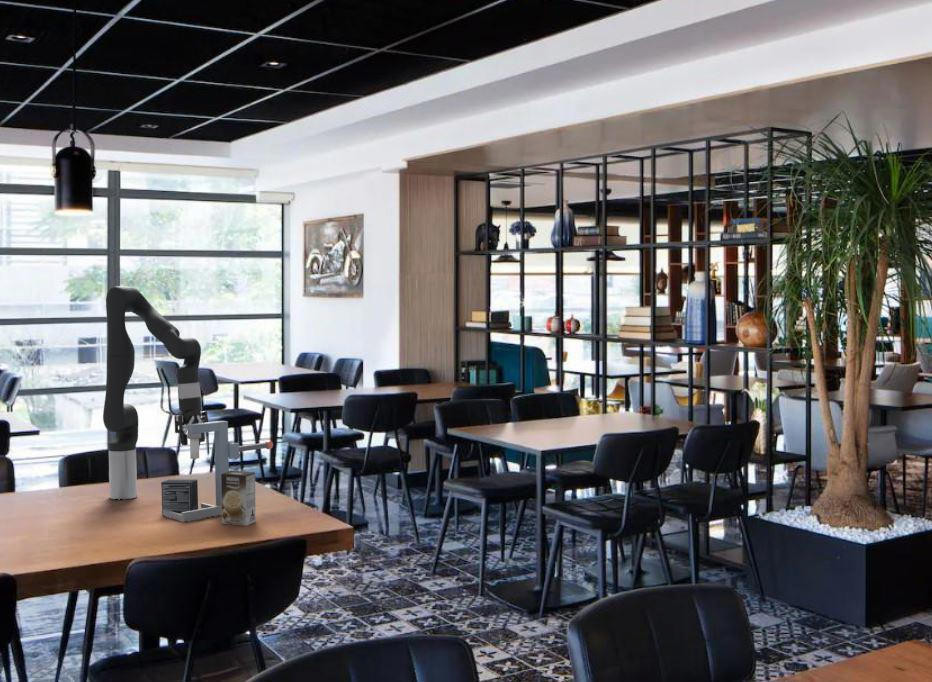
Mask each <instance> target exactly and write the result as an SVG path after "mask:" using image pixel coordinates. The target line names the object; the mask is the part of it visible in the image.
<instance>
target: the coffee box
mask: <svg viewBox="0 0 932 682" xmlns="http://www.w3.org/2000/svg"><path fill="white" fill-rule="evenodd" d="M221 488H222V515H221V524H224V525H231V524H232V525H231V526H233V525H234V526H245V527H246V526H249V525H251V524H254V523H256V521H257V520H256V519H257V518H256V516H257V513H256V472H255V471H243V470H232V469H231V470H229V471H228V472H225V473H223V474H221Z"/></svg>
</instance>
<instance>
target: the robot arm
mask: <svg viewBox="0 0 932 682" xmlns="http://www.w3.org/2000/svg"><path fill="white" fill-rule="evenodd" d="M105 298H106V299H105V307H106V308H105V309H106V321H107V349H106V350H107V352H106V354H107V355H106V386H105V397H104V405H103V410H102V411H103V413H102V421H103V424H104V427H105V428H106V430H107V431H109V432H111V433H115V435H114V437H113V438H112V439H111V440H110V441H109V442H108V482H109V484H108V485H109V489H108V491H109V499H110V498H111V500H115V499H118V501H119V500H120V499H123V500H131V499H134V498H137V497H138V477H137V476H138V475H137V474H138V473H137V471H138V470H137V442H138V440H139V414H138V413H139V412H138V411H137V409H136V407H135V406H134V405H133V404H131V403H125V392H126V389H127V387H128V384H129V381H130V380H131V378H132V375H133V373H134V369H135V364H136V363H135V358H136V355H135V354H136V352H135V346H134V343H133V341H132V340H131V338H130V335H129V334H128V331H127V328H126V313H132V314H135V315H136V316H138V317H140V319H142V320H143V321H144V323H145V326H146V329H147V331H149V333H150V334H151V335H152V336H153V337H155V338H156V340H158V341H159V342H161V343H162V344H163V346H164V347H165V348H166V350H167V352H168V353H169V354H170V355H171V356H172V357H173V358H175V359H178V360H183V363H182V366H179V367H178V368H177V370H176V376H177V377H176V378H177V399H178V409H179V411H180V413H181V414H180V415H177V414H176V415H174V433H175V434H179V438H180V444H181V446H188V445H189V442H188V440H189V439H187V433H188V425H189V424H197V423H206V422H209V417H208V416H209V415H208V411H206V410H205V411H202V408H203V406H202V394H201V393H202V391H201V386H200V377H199V367H200V363H201V362H200V361H201V355H202V347H201V344H200V342H199V341H198V340H197V339H196V338H194V337H188V338H183V337H182V338H181V337H180V335H181V334H180V330H179V329H178V327H176V326H175V325H174V324H172V323H171V322H170V321H169V320H168V319H166V318H165V317H164V316H163V315H162V314H160V313H159V312H158V310H156V309H155V307H154V306H152V304H151V303H150V302H149V301H148V299H146V297H145V296H144V295H143V294H142V292H141V291H140V290H138V289H137V288H136V287H134V286H131V285H129V286H128V285H127V286H125V285H124V286H123V285H121V286H120V285H115V286H112V287H110V288H109V290H108V291H107V292H106V296H105ZM205 441H206V432H205V433H201V438H199V443H203V442H205Z"/></svg>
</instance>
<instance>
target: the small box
mask: <svg viewBox="0 0 932 682" xmlns="http://www.w3.org/2000/svg"><path fill="white" fill-rule="evenodd" d="M198 483H199V482H198V479H166V480H164V481H161V483H160V485H161V487H160V488H161V513H162V514H163V510H165V509H166V510H169V511H172V512H176V513H179V514H182V512H186V511H192V510H197V509H199V486H198Z"/></svg>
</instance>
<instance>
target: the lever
mask: <svg viewBox="0 0 932 682" xmlns="http://www.w3.org/2000/svg"><path fill="white" fill-rule="evenodd" d="M273 446H274V443H273V441H272V440H267V441H265V442H260V443H254V444H252V443H251V444H244V445H239V453H241V452H247V451H249V452H250V451H255V450H263V449H266V450H271V449H272V448H273ZM228 454H229V446H228Z"/></svg>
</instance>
